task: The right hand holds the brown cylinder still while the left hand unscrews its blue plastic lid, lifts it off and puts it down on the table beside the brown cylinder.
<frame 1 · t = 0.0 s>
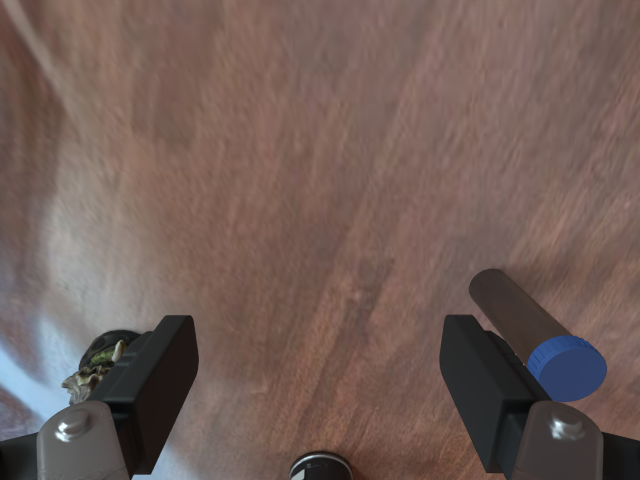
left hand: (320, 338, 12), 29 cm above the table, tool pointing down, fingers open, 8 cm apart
lid: (569, 373, 30), point 15 cm above the table, screwed on, not yet turned
figurine: (124, 366, 48), on the table
brown cylinder: (488, 286, 44), on the table
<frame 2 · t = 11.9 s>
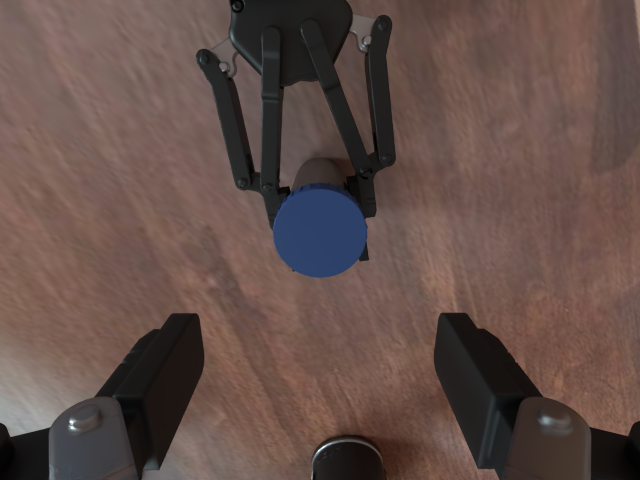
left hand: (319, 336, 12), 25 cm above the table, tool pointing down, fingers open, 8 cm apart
right hand: (330, 258, 31), fingers closed on brown cylinder, 5 cm apart
lid: (319, 233, 21), point 15 cm above the table, screwed on, not yet turned
brown cylinder: (319, 182, 35), on the table, touching right hand
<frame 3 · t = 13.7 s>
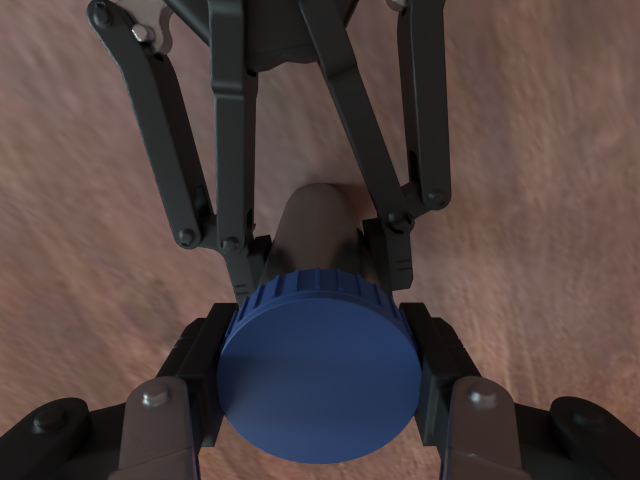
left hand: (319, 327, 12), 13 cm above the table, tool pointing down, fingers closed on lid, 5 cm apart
right hand: (335, 347, 19), fingers closed on brown cylinder, 5 cm apart
lid: (319, 380, 10), point 15 cm above the table, screwed on, not yet turned, touching left hand
brown cylinder: (319, 218, 24), on the table, touching right hand
when the left hand's fingers open (13 cm above the table, at t = 15.4 s): lid stays where it is, point 15 cm above the table.
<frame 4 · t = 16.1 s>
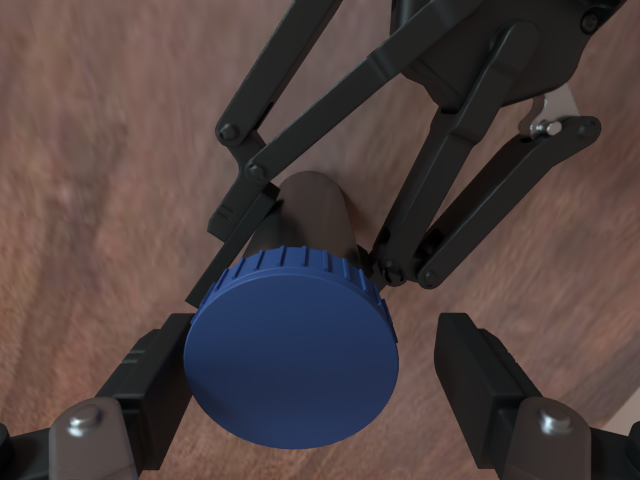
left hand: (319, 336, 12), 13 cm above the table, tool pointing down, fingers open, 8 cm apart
right hand: (246, 318, 19), fingers closed on brown cylinder, 5 cm apart
lid: (292, 361, 9), point 15 cm above the table, turned 87° so far, risen 0.3 cm, still on its thread
brown cylinder: (309, 207, 24), on the table, touching right hand
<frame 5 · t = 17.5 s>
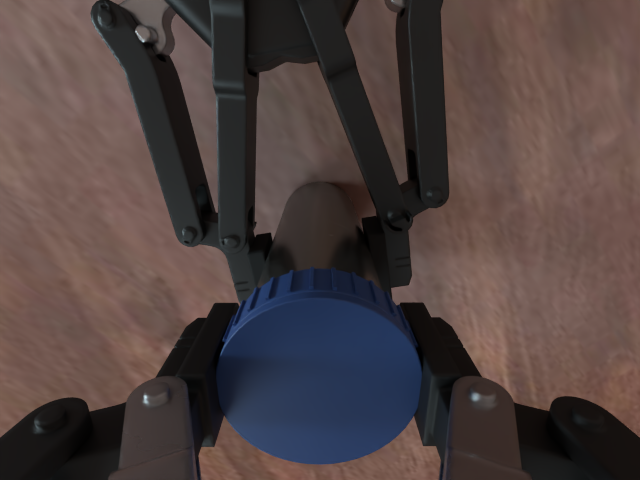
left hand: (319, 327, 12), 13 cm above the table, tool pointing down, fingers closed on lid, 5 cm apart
right hand: (335, 344, 20), fingers closed on brown cylinder, 5 cm apart
lid: (319, 380, 10), point 15 cm above the table, turned 87° so far, risen 0.3 cm, still on its thread, touching left hand
brown cylinder: (319, 217, 24), on the table, touching right hand
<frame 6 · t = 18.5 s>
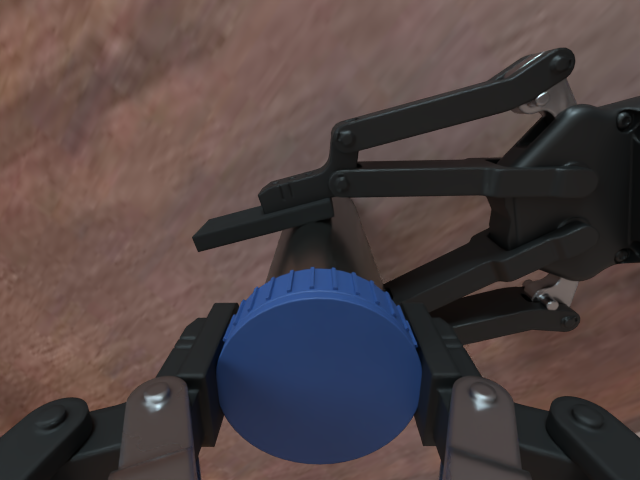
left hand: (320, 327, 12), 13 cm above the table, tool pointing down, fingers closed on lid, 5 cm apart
right hand: (224, 283, 19), fingers closed on brown cylinder, 5 cm apart
lid: (319, 380, 10), point 16 cm above the table, off its thread, touching left hand
brown cylinder: (322, 220, 25), on the table, touching right hand
when the left hand's fingers open (0 cm above the table, at t = 24.5 s): lid drops 2 cm, point 1 cm above the table.
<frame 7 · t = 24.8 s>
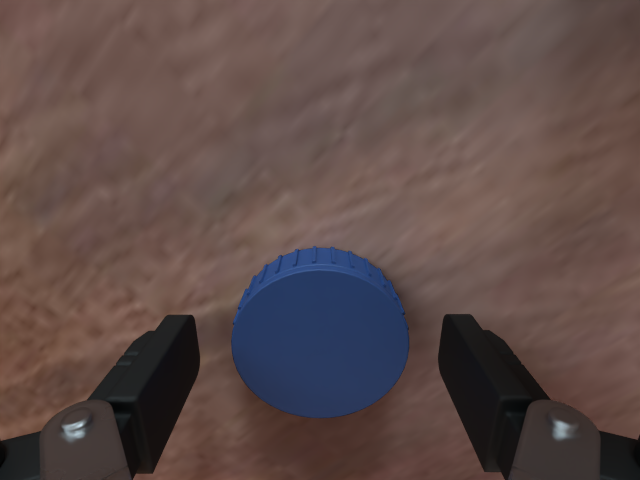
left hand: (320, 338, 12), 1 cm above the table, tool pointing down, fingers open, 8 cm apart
lid: (320, 343, 11), point 1 cm above the table, off its thread
when the right hand's fingers open (7 cm above the table, at t = 25.3 s): brown cylinder stays where it is, on the table.
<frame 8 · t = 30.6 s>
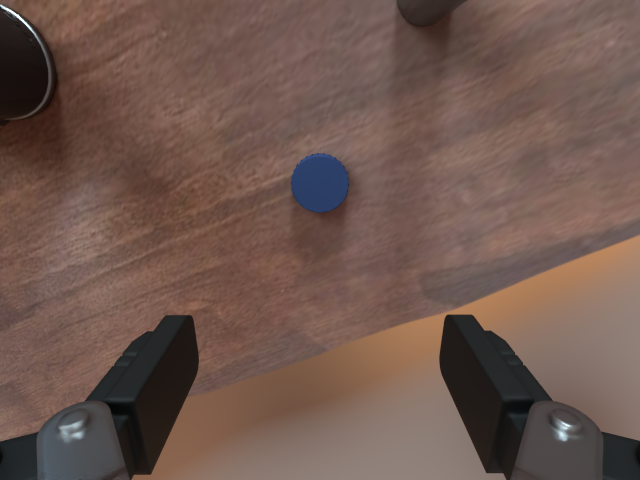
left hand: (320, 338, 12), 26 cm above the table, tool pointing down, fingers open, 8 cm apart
lid: (319, 184, 35), point 1 cm above the table, off its thread
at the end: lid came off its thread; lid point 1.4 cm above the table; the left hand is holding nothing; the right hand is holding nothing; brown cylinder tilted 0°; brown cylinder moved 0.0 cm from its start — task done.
